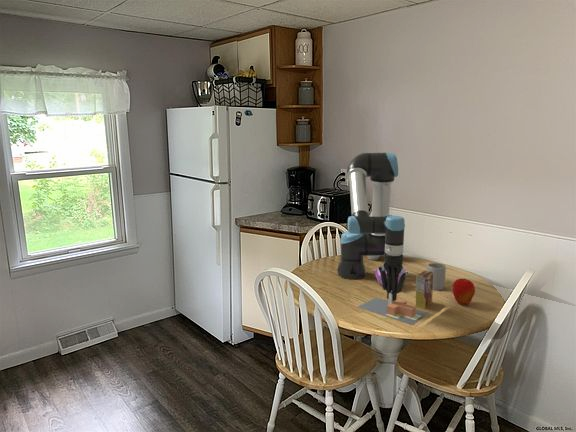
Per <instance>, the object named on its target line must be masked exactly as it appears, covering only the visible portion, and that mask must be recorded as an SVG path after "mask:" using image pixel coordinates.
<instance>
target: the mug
mask: <svg viewBox="0 0 576 432" xmlns="http://www.w3.org/2000/svg"><path fill="white" fill-rule="evenodd" d="M426 268H427V269H426V271H431V272H433V291H442V290H445V285H446V269H447V266H446V265H445V264H442V263H436V262H431V263H428V264H427V267H426Z"/></svg>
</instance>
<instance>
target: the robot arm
mask: <svg viewBox="0 0 576 432" xmlns="http://www.w3.org/2000/svg"><path fill="white" fill-rule="evenodd" d="M398 163H399V162H398V159H397V155H396V154H395V153H392V152H387V151H386V152H362V153H359V154H358V155H356V156H355V157H353V159H352V160H351V161H350V162H349V164H348V166H347V169H346V178H347V180H348V182H349V195H350V207H351V210H350V213H351V216H348V218H347V231H344V232H343V233H342V234H341V237H340V261H339V263H338V267H337V270H336V271H337V273H336V275H337V274H338V275H339V276H338V275H337V276H338V277H340V276H341V277H340V278H342V277H344V279H347V278H348V280H357V279H358V280H359V279H362V278H365V277H366V276H367V271H366V267H365V264H364V257H367V256H380V257H384V258H383V262H384V263H383V265H381V266H379V267H377V270H378V269H379V271H380V274H381V280H382V285H383V287H382V290H384V291H386V299H387V301H388V305H389V304H391V303H393V302H395V301H396V300H398V298H397V296H398V294H400V293H402V290H403V287H404V283H405V281H406V279H407V278H406V277H407V276H408V275H409V272H408V271H406V270H405V271H404V270H403V268H404V266H403V262H404V254H403V253H404V243H405V242H404V241H405V227H406V225H405V218H404V217H403V216H400V215H392V214H390V204H391V186H392V183H393V182H395V178H397V177H398V176H399V164H398ZM367 178H370V179H369V180H370V181H371V183H372V202H371V203H372V204H371V205H372V207H371V212H372V216H370V214H369V213H370V212H369V203H368V202H369V201H368V193H367V191H368V190H367V183H366V179H367ZM385 270H386V271H385ZM386 272H387V276H386ZM400 272H401V277H400V280H399V283H398V277H399V274H400Z"/></svg>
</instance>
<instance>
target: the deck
mask: <svg viewBox="0 0 576 432" xmlns="http://www.w3.org/2000/svg"><path fill="white" fill-rule="evenodd" d="M388 301H389V300H388V299H387V300H386V299H383V298H380V297H373V298H371V299H370V300H368V301H366V302H364V303H362V304H360V305H358V306H357V308H359V309H360V310H361V309H362V310H364V311H368V312H371V313H374V314H377V315H380V316H382V317H386V318H389V319H392V320H395V321H398V322H401V323H404V324H408V325H411V326H413V325H415V324H416V323H417V322H419V321H420V320H422V319H423V318H425V317H427V316H428V315H430V312H427V311H425V310H419V308H418V309H417V308H416V314H415V316H413V317H412V318H410V317H407V316H404V315H401V314H397V315H395V316H392V315H389V314H387V305H388Z"/></svg>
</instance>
